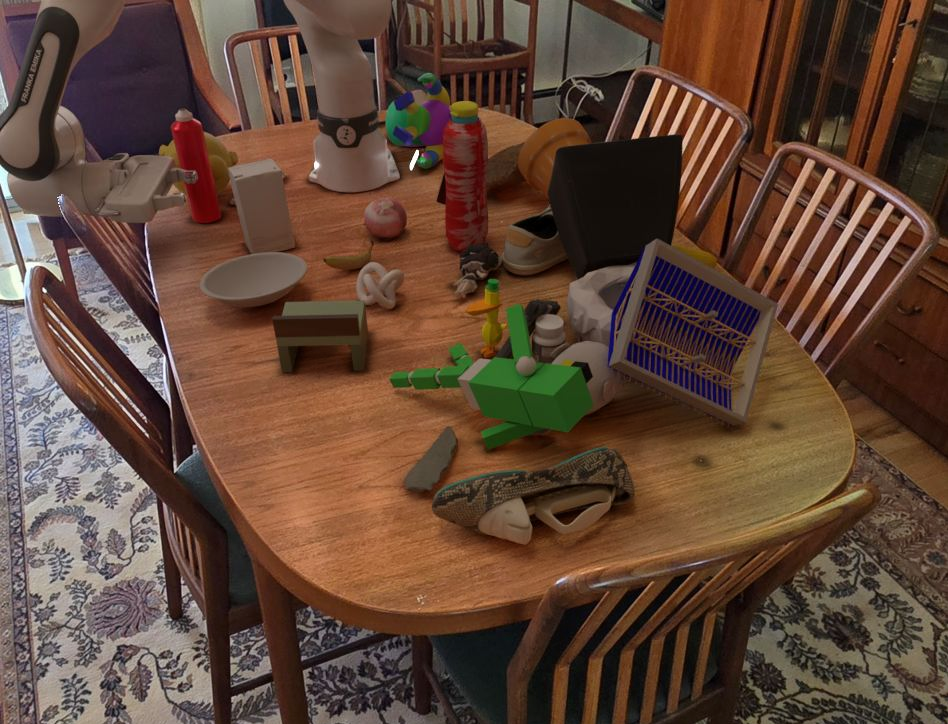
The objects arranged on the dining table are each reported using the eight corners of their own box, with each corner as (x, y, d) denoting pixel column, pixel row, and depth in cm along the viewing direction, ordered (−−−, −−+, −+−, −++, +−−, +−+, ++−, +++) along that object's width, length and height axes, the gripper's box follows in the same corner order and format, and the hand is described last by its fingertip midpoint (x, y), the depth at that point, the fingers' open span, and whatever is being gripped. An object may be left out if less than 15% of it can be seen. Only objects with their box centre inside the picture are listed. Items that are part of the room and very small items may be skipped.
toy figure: (473, 366, 126) (472, 293, 118) (462, 354, 129) (460, 282, 121) (512, 353, 129) (514, 281, 121) (500, 342, 131) (501, 270, 123)
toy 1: (466, 370, 131) (626, 393, 110) (402, 430, 124) (560, 467, 103) (430, 291, 123) (595, 299, 102) (360, 351, 116) (521, 373, 95)
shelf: (291, 335, 133) (282, 284, 127) (368, 334, 133) (362, 282, 127) (282, 372, 126) (271, 319, 120) (363, 370, 126) (357, 317, 120)
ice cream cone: (449, 118, 201) (425, 89, 210) (434, 109, 198) (410, 79, 206) (437, 136, 203) (413, 106, 212) (422, 126, 200) (399, 96, 208)
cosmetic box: (287, 236, 159) (273, 156, 149) (296, 249, 155) (283, 168, 145) (242, 245, 156) (226, 165, 146) (251, 259, 152) (234, 177, 142)
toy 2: (589, 316, 115) (580, 365, 123) (503, 371, 109) (500, 418, 118) (643, 360, 111) (630, 408, 119) (557, 419, 105) (550, 465, 114)
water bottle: (425, 237, 158) (418, 96, 141) (460, 226, 161) (457, 86, 145) (463, 262, 151) (460, 116, 134) (499, 249, 154) (500, 105, 137)
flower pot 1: (619, 153, 154) (586, 106, 159) (548, 180, 152) (517, 132, 157) (612, 208, 167) (581, 164, 172) (547, 234, 165) (518, 189, 170)
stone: (400, 497, 107) (434, 500, 104) (395, 485, 106) (429, 488, 103) (445, 434, 115) (477, 435, 112) (440, 422, 114) (473, 423, 111)
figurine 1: (418, 67, 167) (477, 81, 182) (364, 69, 174) (425, 82, 190) (414, 167, 173) (472, 172, 188) (362, 164, 180) (422, 169, 196)
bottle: (215, 208, 168) (192, 102, 154) (225, 218, 164) (202, 110, 151) (188, 215, 166) (162, 108, 152) (198, 225, 162) (172, 117, 149)
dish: (288, 269, 149) (283, 242, 146) (327, 303, 140) (323, 276, 137) (192, 300, 142) (184, 273, 138) (227, 338, 133) (220, 310, 130)
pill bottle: (528, 362, 127) (530, 313, 121) (560, 360, 127) (563, 311, 122) (533, 381, 124) (535, 331, 118) (565, 379, 124) (569, 329, 118)
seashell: (513, 152, 183) (547, 118, 169) (530, 192, 184) (566, 162, 170) (438, 175, 175) (468, 141, 161) (457, 217, 176) (488, 187, 162)
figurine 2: (485, 304, 139) (514, 255, 148) (466, 270, 135) (497, 223, 145) (451, 313, 143) (481, 266, 152) (432, 280, 139) (464, 234, 149)
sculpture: (235, 193, 164) (239, 207, 177) (236, 125, 162) (239, 144, 175) (153, 187, 161) (162, 201, 174) (152, 117, 159) (162, 137, 172)
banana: (330, 281, 146) (327, 260, 143) (322, 276, 147) (319, 255, 145) (379, 263, 151) (377, 242, 148) (371, 258, 152) (369, 237, 149)
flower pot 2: (698, 241, 125) (683, 130, 126) (570, 256, 125) (556, 144, 126) (670, 278, 144) (657, 182, 145) (558, 291, 144) (546, 195, 145)
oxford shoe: (635, 228, 159) (641, 183, 154) (534, 286, 144) (536, 239, 138) (588, 211, 165) (592, 167, 159) (486, 265, 149) (486, 219, 144)
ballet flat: (431, 472, 95) (459, 540, 90) (625, 428, 102) (661, 489, 97) (426, 515, 102) (452, 580, 97) (608, 470, 109) (641, 529, 104)
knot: (345, 307, 140) (341, 274, 136) (372, 285, 145) (369, 253, 141) (385, 318, 137) (382, 285, 133) (410, 295, 142) (408, 263, 138)
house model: (617, 366, 107) (591, 377, 113) (744, 427, 112) (713, 434, 119) (658, 233, 110) (631, 251, 117) (779, 299, 116) (747, 312, 123)
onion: (367, 246, 156) (363, 208, 151) (362, 227, 161) (358, 190, 156) (410, 241, 157) (408, 204, 152) (404, 223, 162) (402, 186, 158)
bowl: (606, 398, 120) (614, 337, 113) (540, 327, 134) (543, 269, 127) (729, 364, 126) (743, 304, 119) (654, 299, 140) (662, 242, 133)
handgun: (512, 361, 138) (551, 296, 135) (524, 369, 138) (563, 304, 135) (482, 370, 120) (526, 295, 117) (496, 378, 120) (541, 304, 116)
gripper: (85, 197, 138) (171, 195, 138) (121, 149, 153) (199, 147, 153) (97, 233, 142) (181, 232, 142) (131, 183, 157) (206, 182, 157)
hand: (190, 188), depth 148 cm, fingers open, 8 cm apart
